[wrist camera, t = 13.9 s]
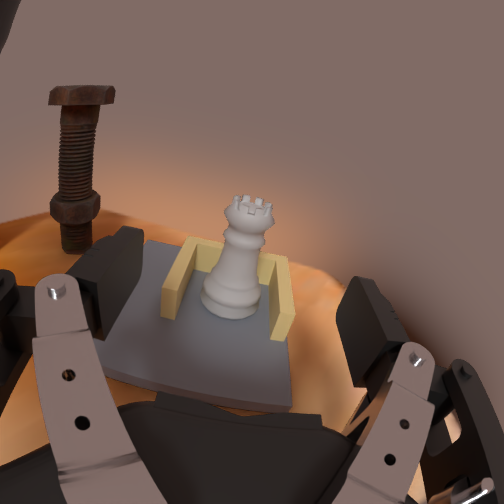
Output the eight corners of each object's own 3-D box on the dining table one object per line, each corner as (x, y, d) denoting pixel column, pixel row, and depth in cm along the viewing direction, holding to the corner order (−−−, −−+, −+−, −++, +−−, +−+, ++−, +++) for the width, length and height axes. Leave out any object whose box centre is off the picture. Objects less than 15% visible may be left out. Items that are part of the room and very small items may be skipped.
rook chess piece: (263, 325, 20) (297, 222, 16) (199, 321, 19) (219, 210, 15) (252, 287, 24) (278, 195, 20) (198, 282, 23) (215, 185, 19)
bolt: (65, 232, 26) (71, 86, 19) (107, 237, 27) (120, 86, 20) (44, 262, 21) (42, 86, 14) (93, 268, 22) (101, 84, 15)
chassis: (74, 364, 14) (62, 323, 12) (147, 248, 27) (149, 215, 25) (286, 414, 15) (308, 381, 13) (277, 276, 28) (287, 245, 27)
